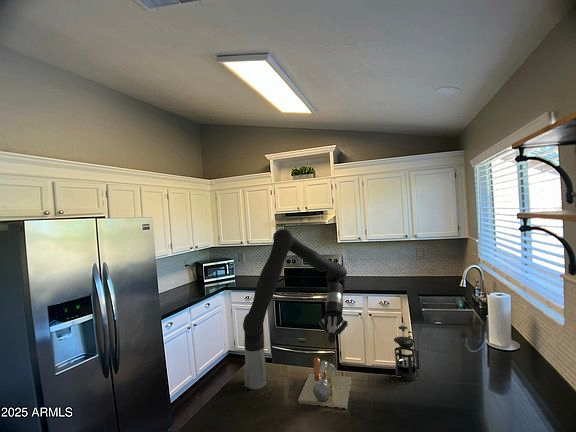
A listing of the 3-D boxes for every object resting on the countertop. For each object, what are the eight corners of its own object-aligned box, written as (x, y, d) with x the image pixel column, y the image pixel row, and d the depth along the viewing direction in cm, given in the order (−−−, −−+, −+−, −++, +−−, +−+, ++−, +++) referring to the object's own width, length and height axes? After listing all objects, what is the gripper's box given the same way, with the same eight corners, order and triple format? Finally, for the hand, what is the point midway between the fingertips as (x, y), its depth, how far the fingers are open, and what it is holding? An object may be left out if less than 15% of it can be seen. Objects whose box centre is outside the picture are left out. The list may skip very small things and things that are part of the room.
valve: (298, 403, 126) (296, 375, 126) (309, 376, 147) (308, 352, 147) (346, 409, 120) (345, 379, 120) (351, 380, 141) (350, 355, 142)
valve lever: (321, 364, 134) (320, 342, 134) (328, 364, 133) (326, 343, 133) (313, 384, 118) (312, 360, 118) (320, 384, 117) (319, 360, 117)
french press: (400, 382, 137) (397, 331, 137) (390, 372, 146) (387, 324, 147) (424, 379, 139) (421, 329, 139) (413, 369, 148) (410, 322, 148)
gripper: (318, 300, 136) (314, 338, 124) (348, 300, 132) (346, 340, 120) (321, 308, 141) (317, 345, 129) (350, 309, 137) (349, 347, 125)
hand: (331, 342), depth 124 cm, fingers closed
